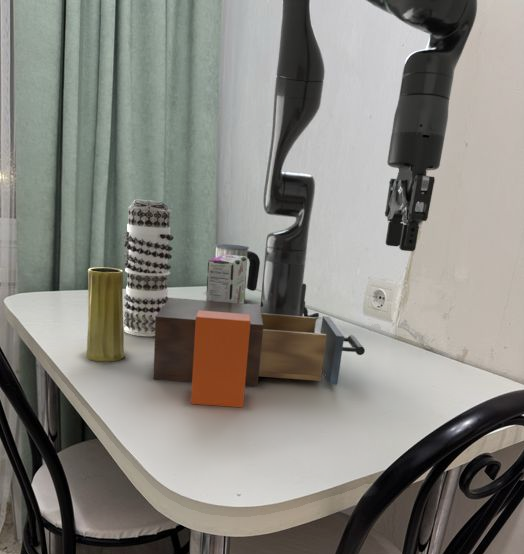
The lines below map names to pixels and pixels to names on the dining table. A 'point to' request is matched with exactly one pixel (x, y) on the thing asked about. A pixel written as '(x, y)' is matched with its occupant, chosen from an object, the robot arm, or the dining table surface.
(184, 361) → the cabinet
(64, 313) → the dining table surface
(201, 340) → the orange rectangular prism
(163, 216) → the white patterned cylinder
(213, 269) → the candy bar box
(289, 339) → the drawer
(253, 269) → the milk frother
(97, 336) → the vase
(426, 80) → the robot arm
